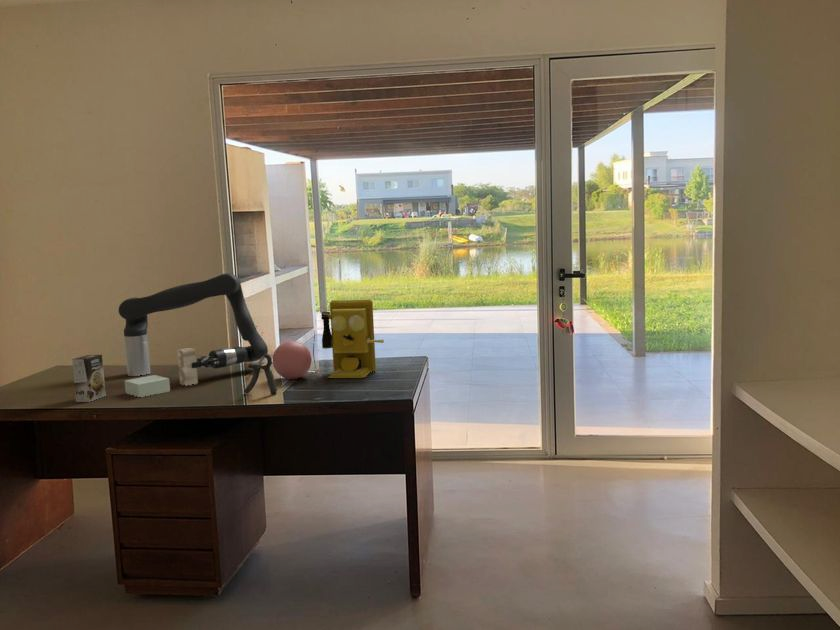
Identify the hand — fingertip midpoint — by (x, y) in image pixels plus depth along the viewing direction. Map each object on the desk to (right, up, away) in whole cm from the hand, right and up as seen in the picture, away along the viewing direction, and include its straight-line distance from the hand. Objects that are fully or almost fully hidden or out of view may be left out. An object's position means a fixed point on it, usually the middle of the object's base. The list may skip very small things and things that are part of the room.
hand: (186, 364), depth 279 cm
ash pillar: (+1, -8, +1) cm, 8 cm away
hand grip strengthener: (+34, -10, -21) cm, 42 cm away
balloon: (+42, -6, +5) cm, 43 cm away
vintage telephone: (+63, -5, +6) cm, 64 cm away
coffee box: (-29, -12, -18) cm, 37 cm away
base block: (-11, -10, -11) cm, 19 cm away
